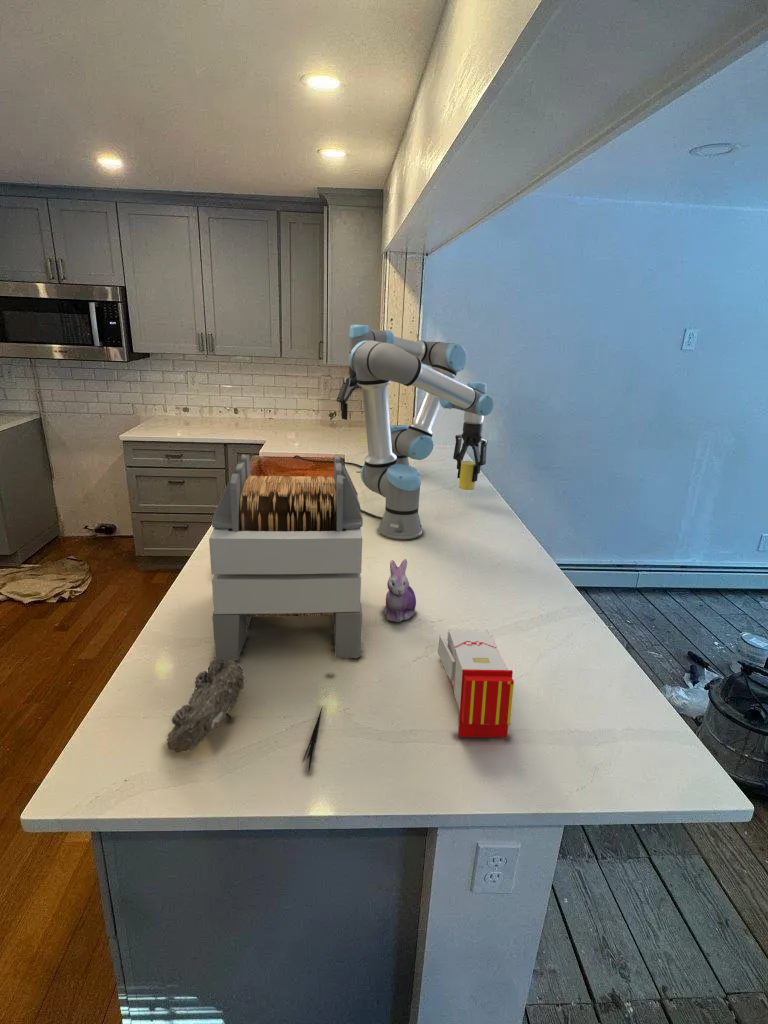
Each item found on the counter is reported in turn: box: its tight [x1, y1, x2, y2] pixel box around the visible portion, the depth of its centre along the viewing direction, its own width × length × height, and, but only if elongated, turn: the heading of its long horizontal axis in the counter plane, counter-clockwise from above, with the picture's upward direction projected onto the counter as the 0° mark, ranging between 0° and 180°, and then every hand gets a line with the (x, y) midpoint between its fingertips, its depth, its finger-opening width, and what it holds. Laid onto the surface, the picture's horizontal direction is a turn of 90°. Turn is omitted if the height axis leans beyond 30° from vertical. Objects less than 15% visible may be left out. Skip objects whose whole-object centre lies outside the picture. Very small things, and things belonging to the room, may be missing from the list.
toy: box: [437, 628, 515, 738], centre depth 117 cm, size 12×13×30 cm
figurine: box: [384, 558, 417, 623], centre depth 145 cm, size 9×10×15 cm
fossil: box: [166, 659, 245, 754], centre depth 106 cm, size 22×10×15 cm
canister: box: [458, 460, 476, 491], centre depth 228 cm, size 6×6×10 cm
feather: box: [301, 673, 332, 771], centre depth 108 cm, size 2×28×2 cm
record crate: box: [208, 453, 364, 661], centre depth 135 cm, size 34×33×41 cm
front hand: (467, 479), depth 228 cm, fingers closed on canister, 6 cm apart
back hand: (356, 417), depth 235 cm, fingers open, 13 cm apart
